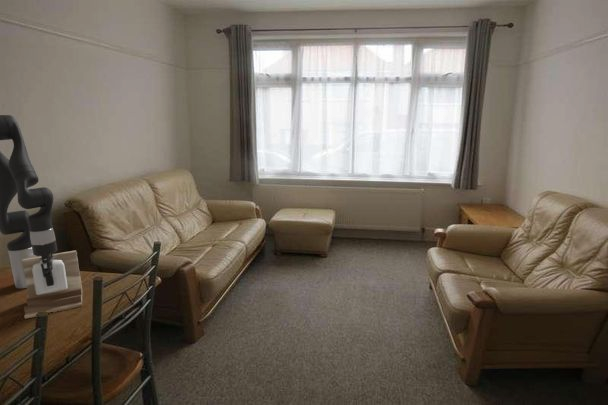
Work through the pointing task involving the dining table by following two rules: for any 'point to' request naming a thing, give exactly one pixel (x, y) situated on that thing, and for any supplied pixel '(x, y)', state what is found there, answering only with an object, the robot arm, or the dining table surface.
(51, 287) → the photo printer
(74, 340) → the dining table surface
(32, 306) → the cleat board
